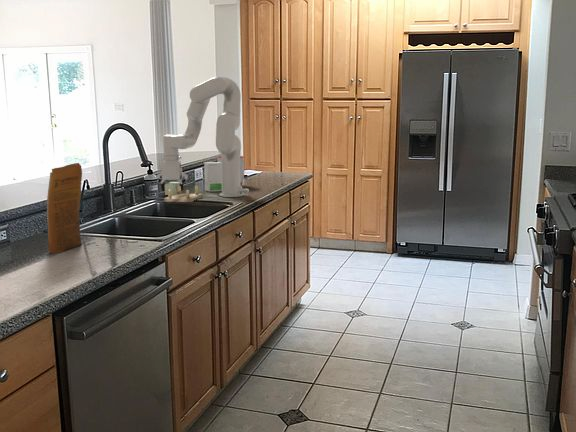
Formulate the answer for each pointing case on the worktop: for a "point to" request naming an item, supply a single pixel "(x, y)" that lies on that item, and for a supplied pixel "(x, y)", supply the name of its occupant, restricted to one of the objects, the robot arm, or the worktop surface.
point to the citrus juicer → (240, 167)
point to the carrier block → (171, 187)
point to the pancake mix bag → (64, 208)
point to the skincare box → (213, 176)
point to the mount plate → (182, 196)
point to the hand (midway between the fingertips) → (172, 191)
